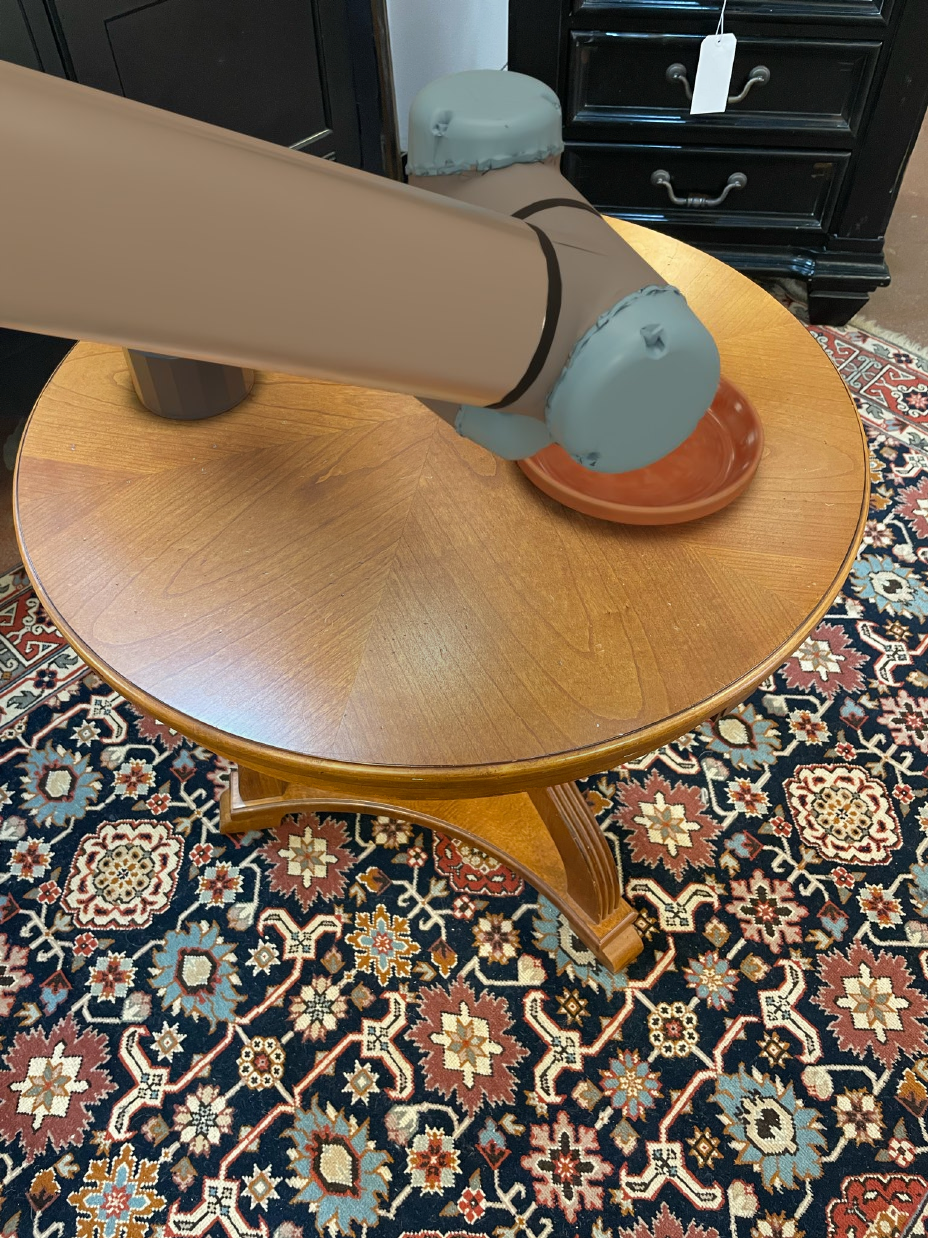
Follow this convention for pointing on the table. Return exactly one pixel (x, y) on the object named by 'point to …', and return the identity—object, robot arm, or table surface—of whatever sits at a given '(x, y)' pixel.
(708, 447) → the saucer
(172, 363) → the pot
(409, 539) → the table surface
